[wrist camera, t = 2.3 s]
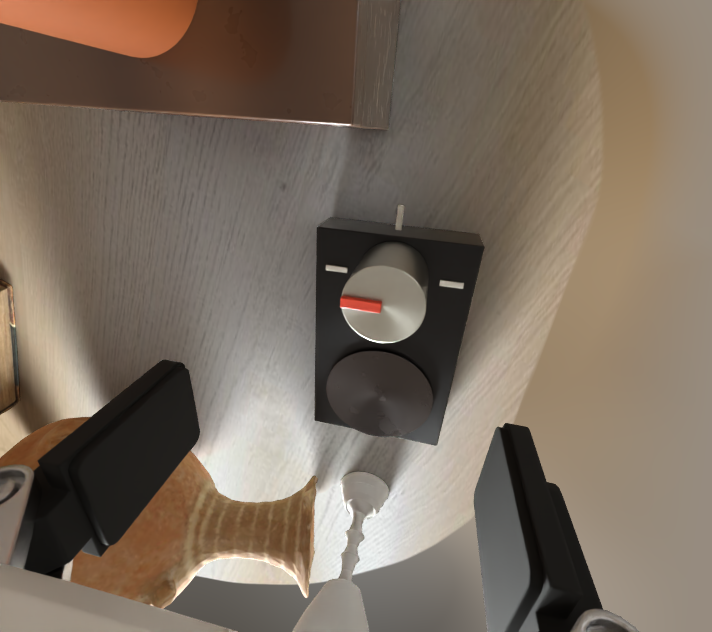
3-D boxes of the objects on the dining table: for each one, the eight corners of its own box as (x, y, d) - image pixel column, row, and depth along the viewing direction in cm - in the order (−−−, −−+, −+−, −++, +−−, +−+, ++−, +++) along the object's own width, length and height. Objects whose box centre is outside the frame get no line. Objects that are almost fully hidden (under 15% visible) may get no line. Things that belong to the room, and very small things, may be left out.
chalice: (341, 511, 39) (274, 769, 23) (321, 466, 36) (229, 723, 20) (407, 511, 36) (382, 797, 21) (390, 463, 34) (347, 749, 18)
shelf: (408, -82, 17) (375, -312, 8) (388, 130, 21) (352, 126, 12) (118, -75, 19) (-143, -246, 11) (152, 113, 24) (-17, 100, 15)
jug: (-110, 413, 25) (308, 459, 23) (96, 396, 44) (336, 422, 42) (-209, 744, 22) (267, 826, 20) (59, 573, 41) (317, 608, 39)
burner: (442, 359, 24) (442, 361, 24) (424, 443, 28) (424, 446, 27) (328, 340, 25) (327, 342, 25) (325, 423, 29) (324, 425, 29)
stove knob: (434, 245, 21) (432, 273, 16) (422, 312, 23) (418, 352, 18) (360, 236, 21) (341, 261, 17) (356, 302, 23) (337, 339, 19)
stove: (486, 204, 22) (493, 214, 19) (437, 419, 30) (436, 447, 27) (330, 189, 23) (316, 196, 21) (324, 397, 32) (313, 422, 29)
